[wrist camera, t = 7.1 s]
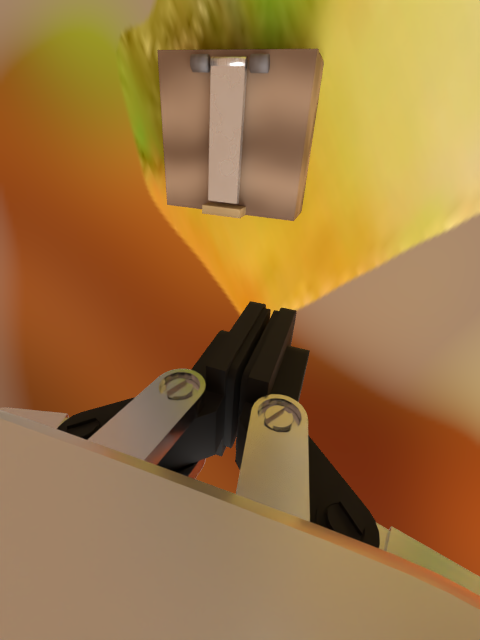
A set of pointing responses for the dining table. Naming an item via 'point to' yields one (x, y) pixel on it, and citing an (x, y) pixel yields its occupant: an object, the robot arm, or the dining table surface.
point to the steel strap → (226, 127)
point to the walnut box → (258, 131)
